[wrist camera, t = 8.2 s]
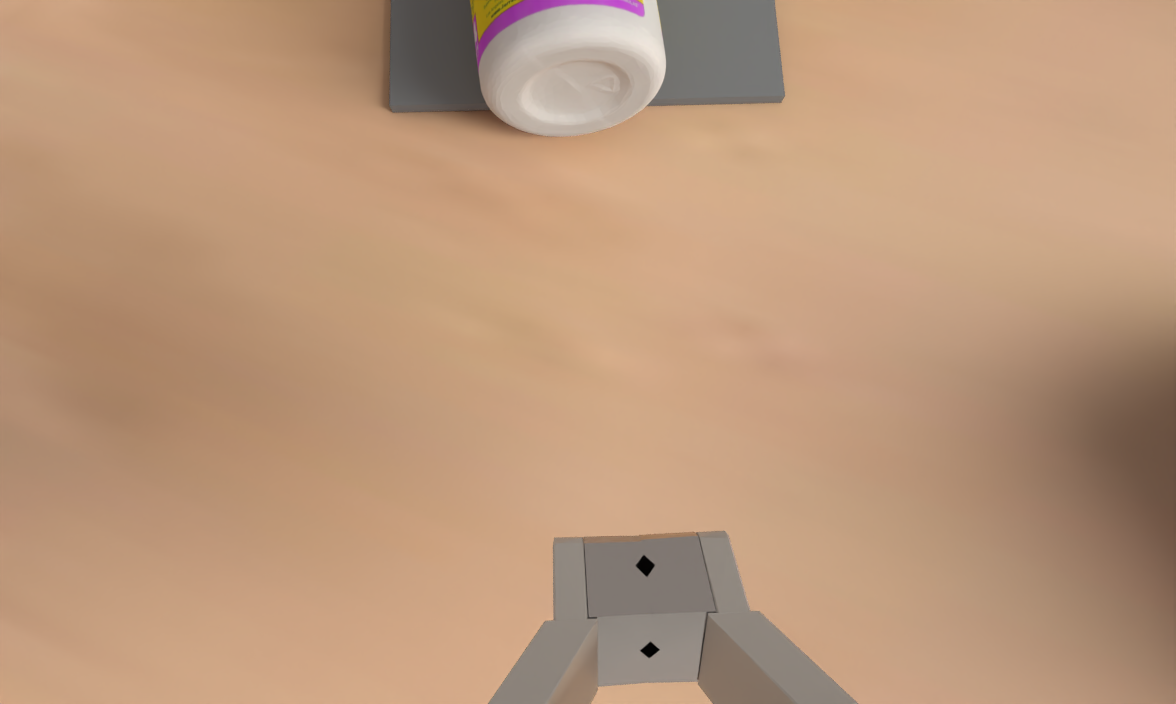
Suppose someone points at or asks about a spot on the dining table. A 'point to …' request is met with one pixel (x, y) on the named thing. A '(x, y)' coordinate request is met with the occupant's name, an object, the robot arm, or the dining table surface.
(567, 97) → the supplement bottle
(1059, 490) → the dining table surface
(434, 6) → the mat
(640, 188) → the dining table surface
